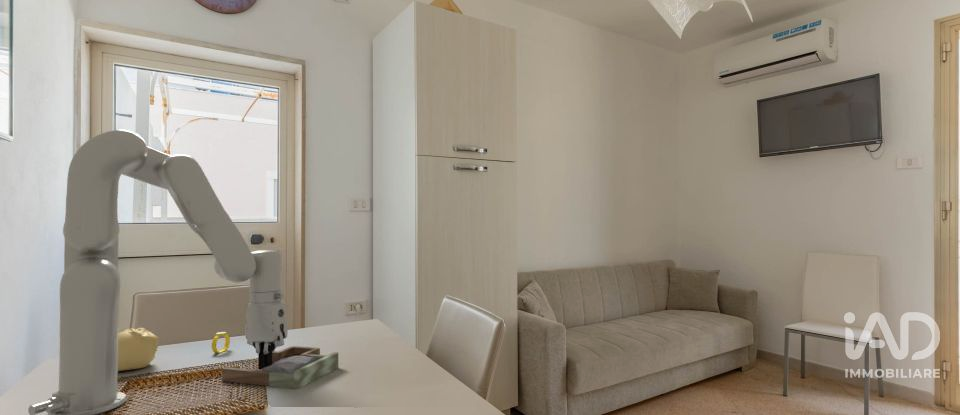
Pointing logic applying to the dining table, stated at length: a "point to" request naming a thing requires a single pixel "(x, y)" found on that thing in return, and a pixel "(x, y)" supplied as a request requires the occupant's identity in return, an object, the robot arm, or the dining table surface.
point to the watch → (227, 342)
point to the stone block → (289, 364)
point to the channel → (286, 380)
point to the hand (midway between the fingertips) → (265, 367)
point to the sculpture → (136, 348)
